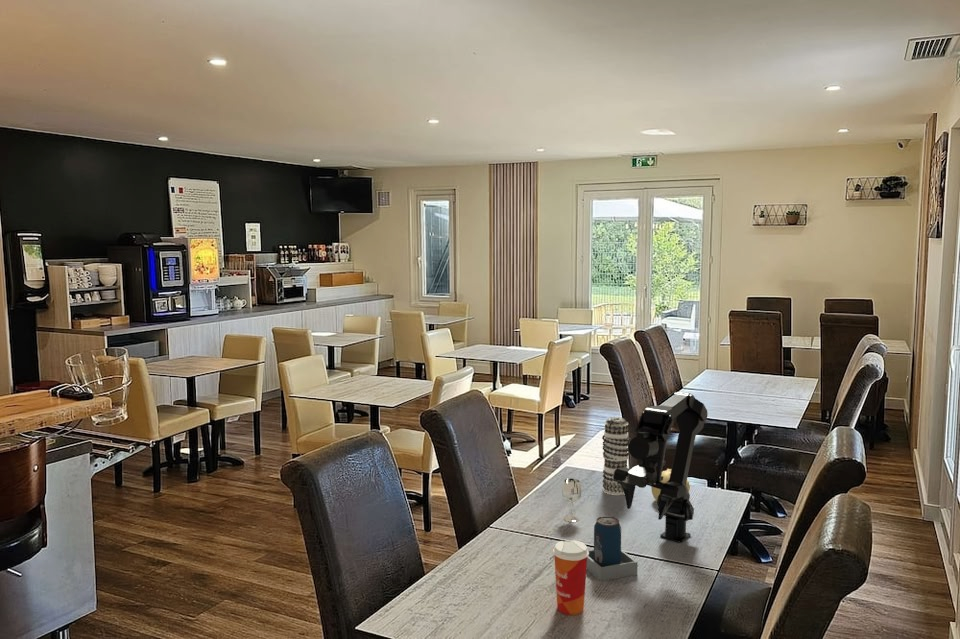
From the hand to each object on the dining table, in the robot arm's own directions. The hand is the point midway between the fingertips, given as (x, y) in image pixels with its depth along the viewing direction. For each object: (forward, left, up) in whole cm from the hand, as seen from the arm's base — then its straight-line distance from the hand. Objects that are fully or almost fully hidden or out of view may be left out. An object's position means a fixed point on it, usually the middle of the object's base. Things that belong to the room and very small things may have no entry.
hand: (644, 514), depth 189 cm
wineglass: (-11, -30, -13) cm, 34 cm away
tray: (+11, -4, -12) cm, 17 cm away
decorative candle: (-41, -32, -13) cm, 53 cm away
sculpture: (-43, -13, -13) cm, 47 cm away
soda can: (+11, -5, -12) cm, 17 cm away
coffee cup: (+34, -1, -13) cm, 36 cm away
